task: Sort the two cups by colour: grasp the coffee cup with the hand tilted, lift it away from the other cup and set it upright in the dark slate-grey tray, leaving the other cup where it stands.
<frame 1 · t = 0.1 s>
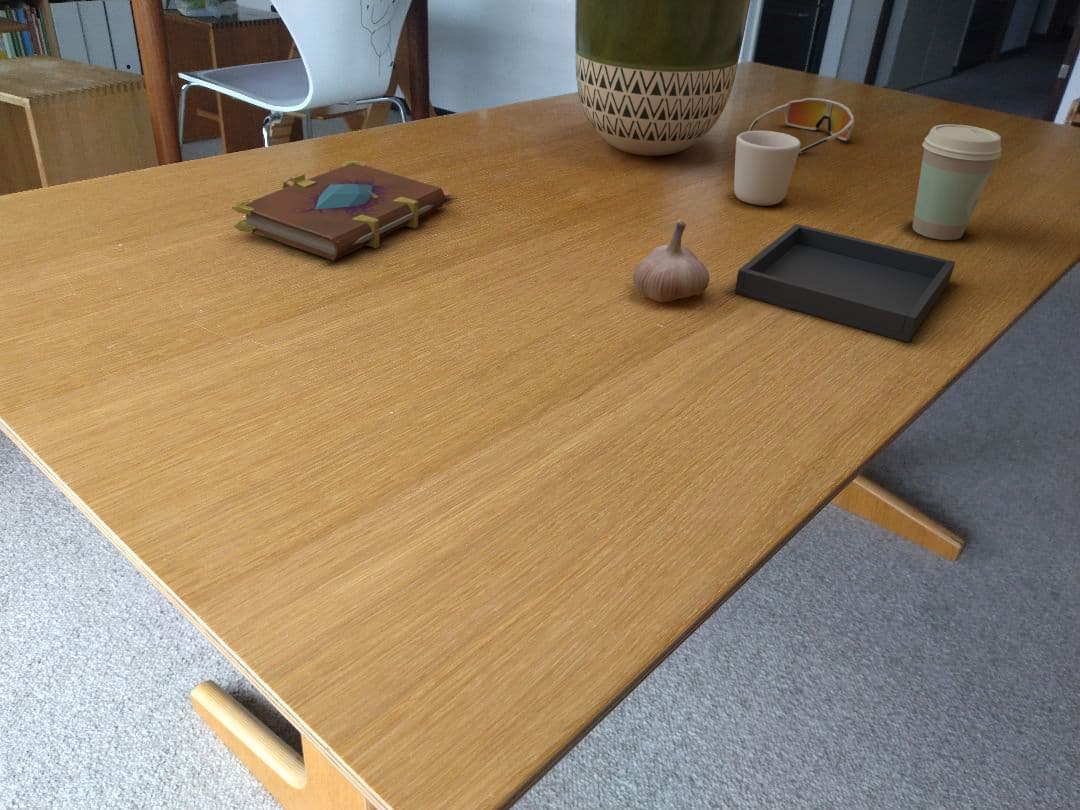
garlic bulb: (668, 296, 89), on the table
planter: (646, 151, 133), on the table
cup: (761, 198, 116), on the table
sunglasses: (799, 139, 141), on the table
coffee cup: (936, 233, 107), on the table
slate tray: (843, 288, 92), on the table
book: (354, 218, 105), on the table
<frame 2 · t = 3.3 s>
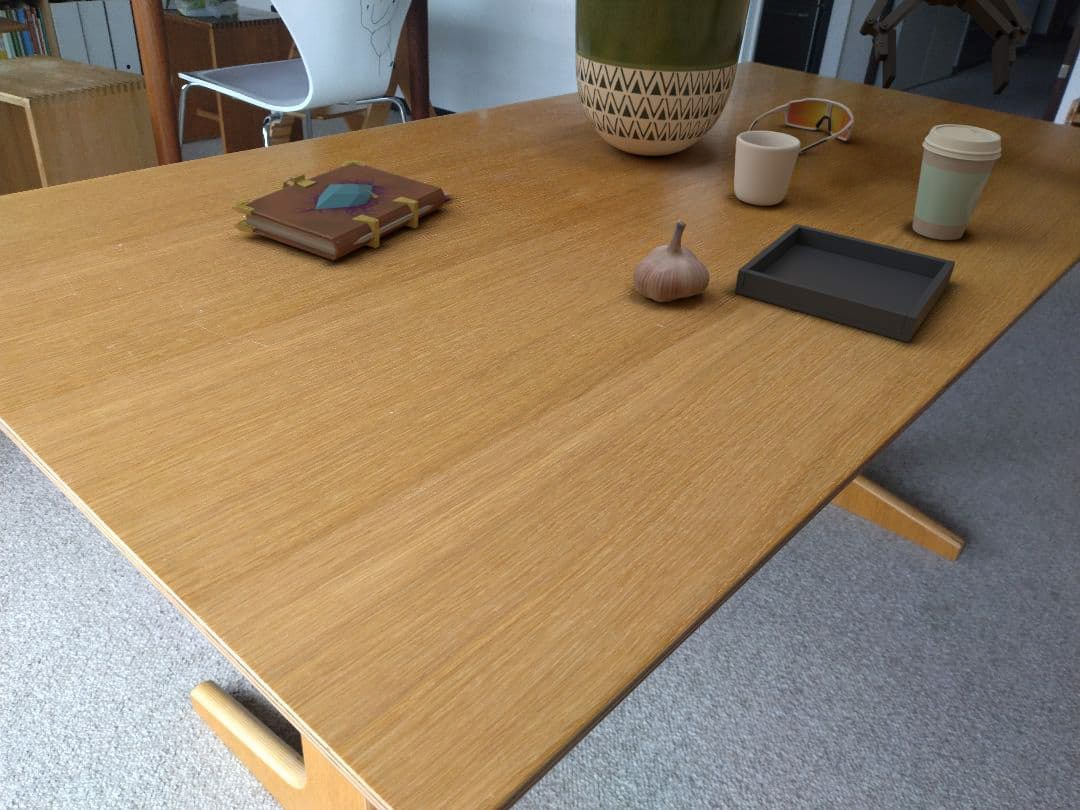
hand: (945, 85, 108), 15 cm above the table, tool tilted 45°, fingers open, 13 cm apart
nothing on the table moved.
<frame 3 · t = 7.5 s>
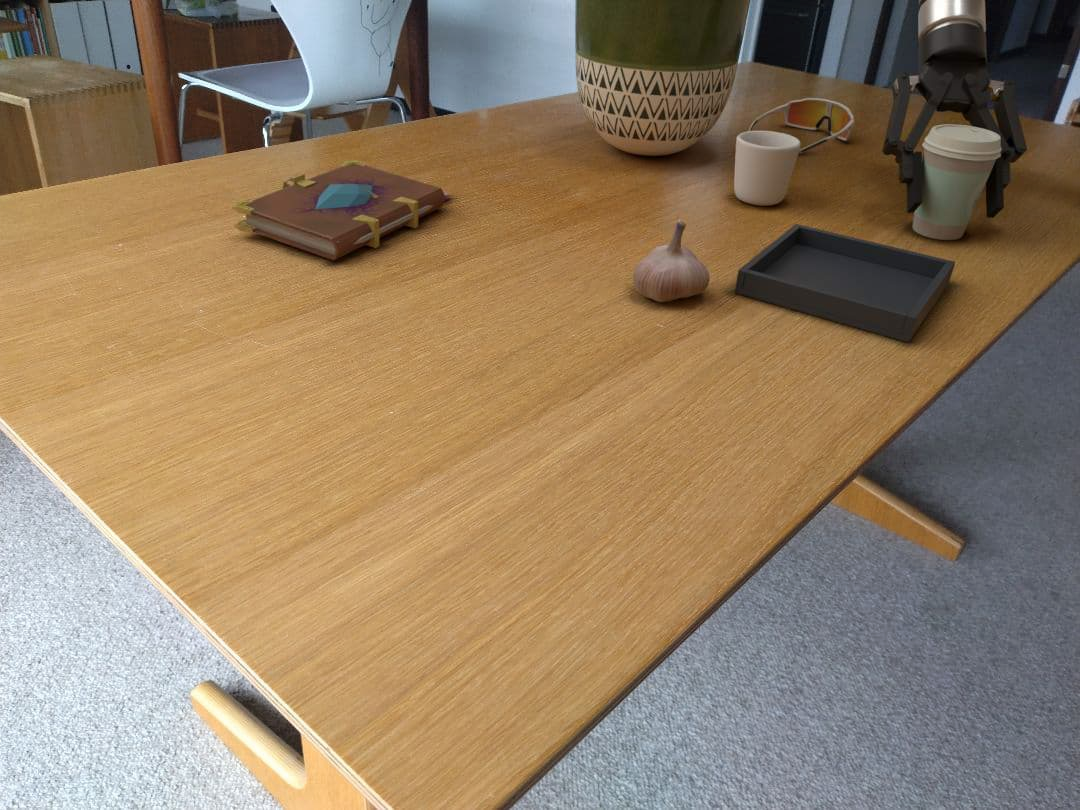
hand: (954, 210, 103), 4 cm above the table, tool tilted 45°, fingers closed on coffee cup, 8 cm apart
coffee cup: (936, 233, 107), on the table, touching gripper
everything else where it was.
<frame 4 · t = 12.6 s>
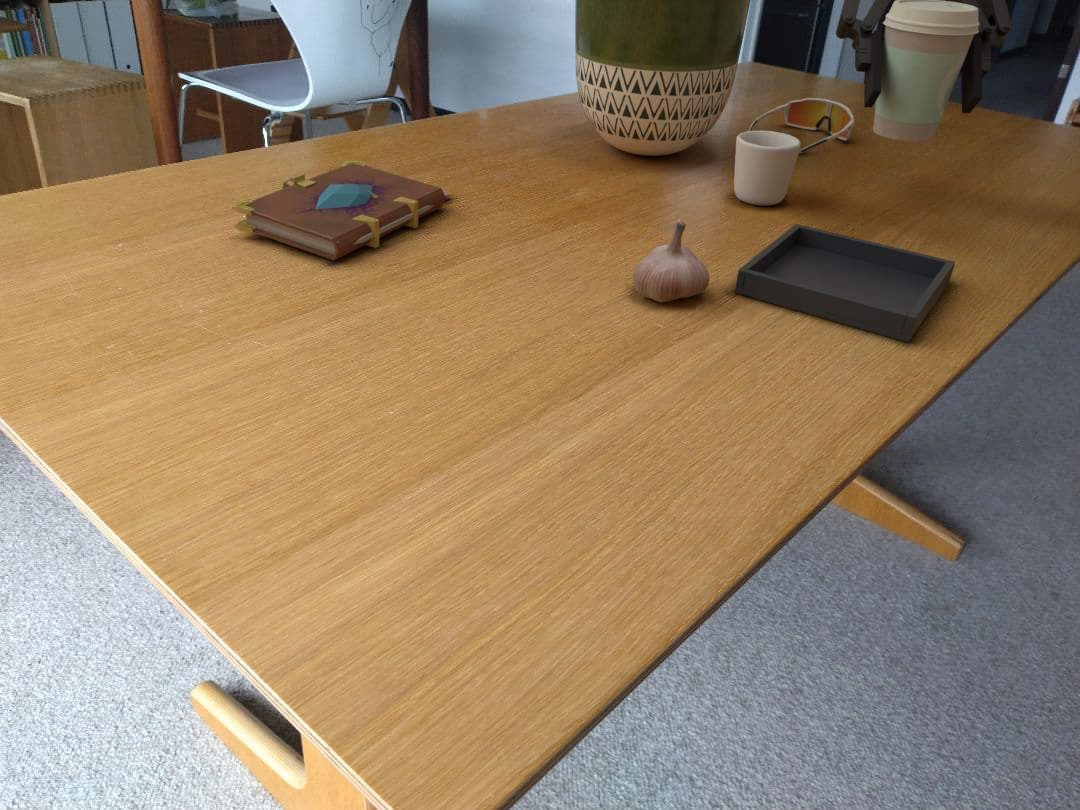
hand: (922, 102, 83), 19 cm above the table, tool tilted 45°, fingers closed on coffee cup, 8 cm apart
coffee cup: (902, 136, 88), point 15 cm above the table, touching gripper
everything else where it was.
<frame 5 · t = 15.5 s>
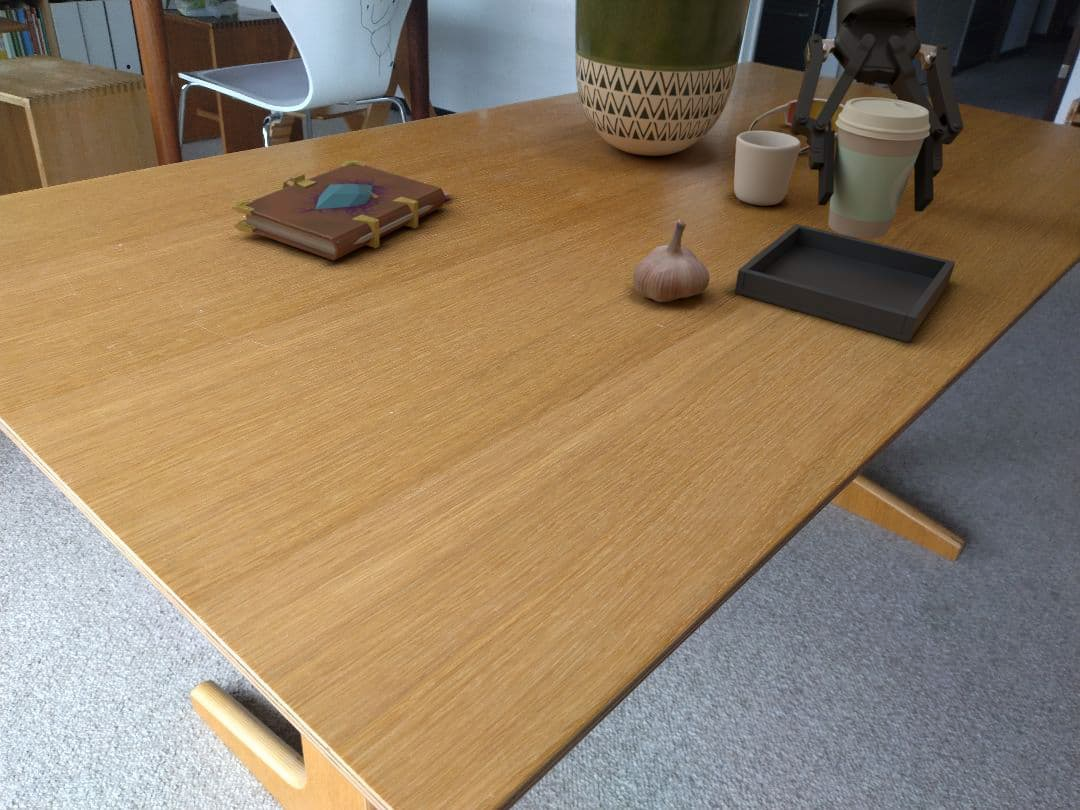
hand: (874, 202, 84), 11 cm above the table, tool tilted 45°, fingers closed on coffee cup, 8 cm apart
coffee cup: (857, 230, 89), point 6 cm above the table, touching gripper
everything else where it was.
when the fingers open (5 cm above the table, at t = 17.7 s): coffee cup stays where it is, resting on slate tray.
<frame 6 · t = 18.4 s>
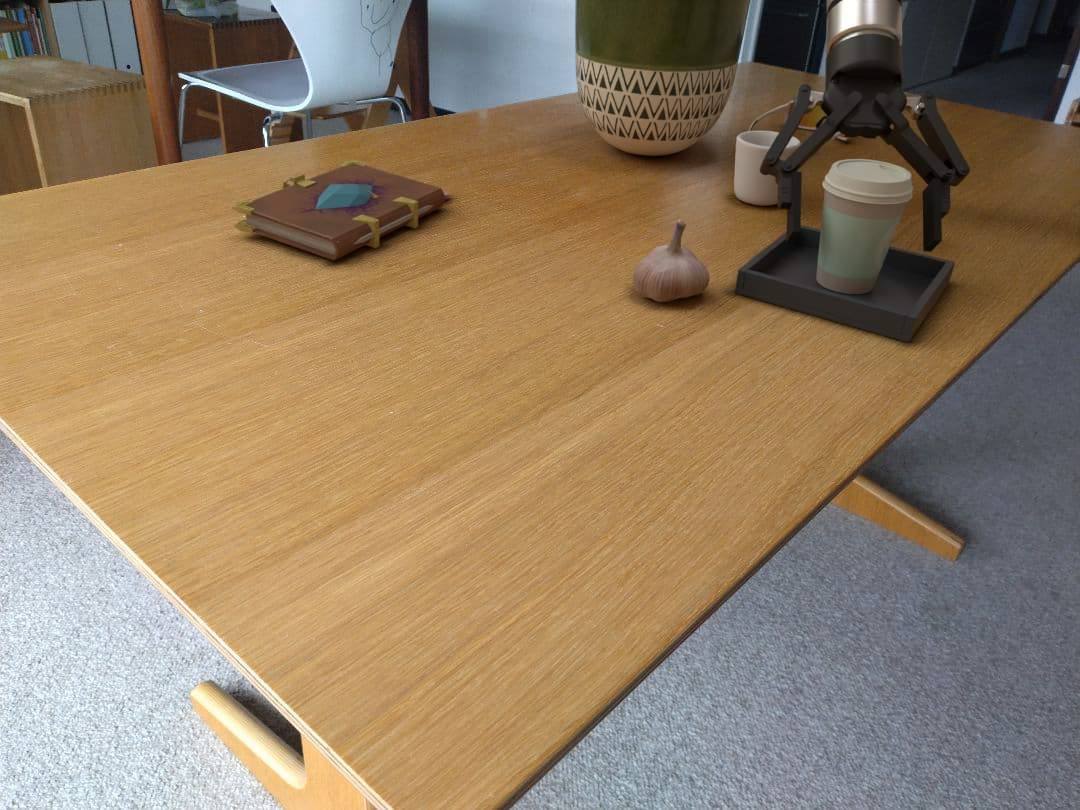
hand: (862, 242, 87), 6 cm above the table, tool tilted 45°, fingers open, 13 cm apart
coffee cup: (844, 284, 92), resting on slate tray
everything else where it was.
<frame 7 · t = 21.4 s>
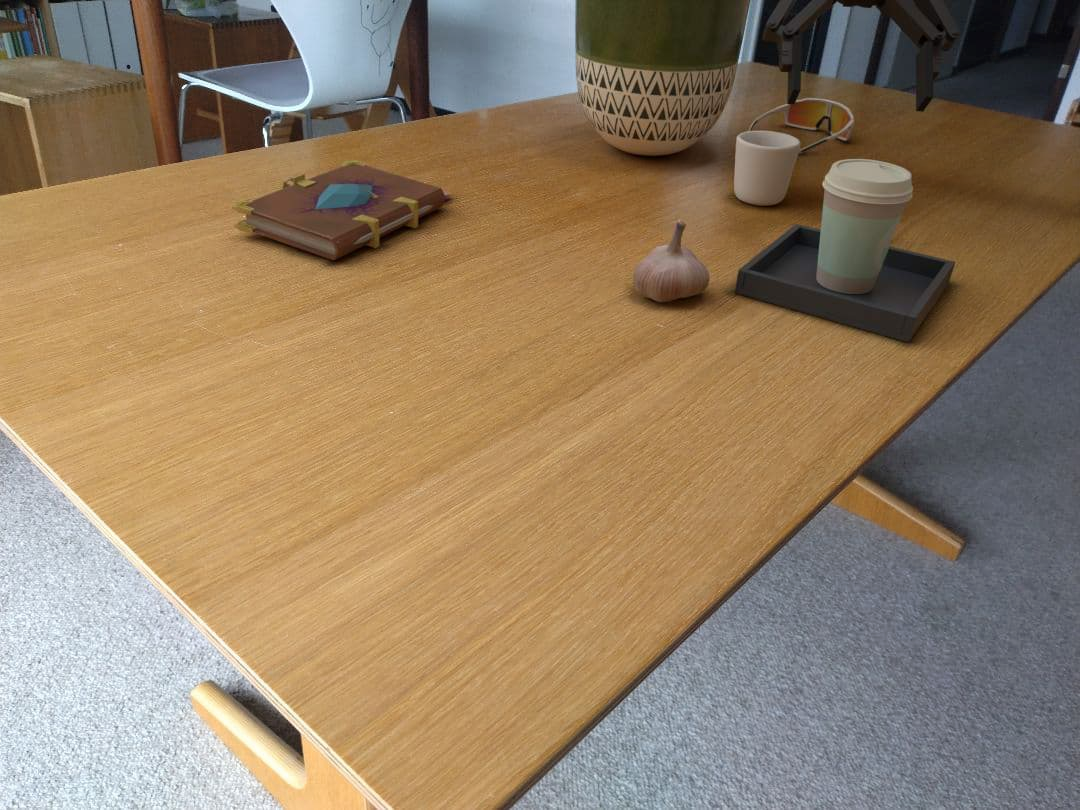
hand: (859, 101, 92), 17 cm above the table, tool tilted 45°, fingers open, 13 cm apart
nothing on the table moved.
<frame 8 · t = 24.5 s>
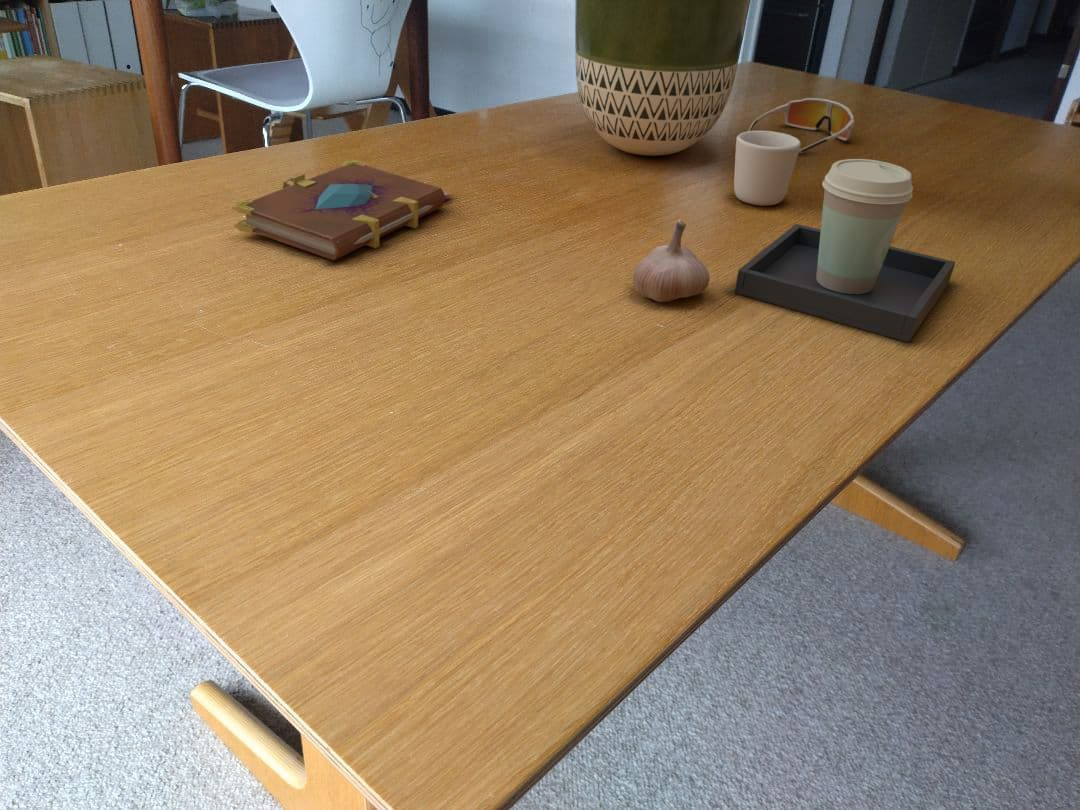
nothing on the table moved.
at the end: coffee cup inside the target area in the slate tray (0.1 cm from its centre), point 0.4 cm above the slate tray's base; coffee cup tilted 0°; cup moved 0.2 cm from its start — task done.
